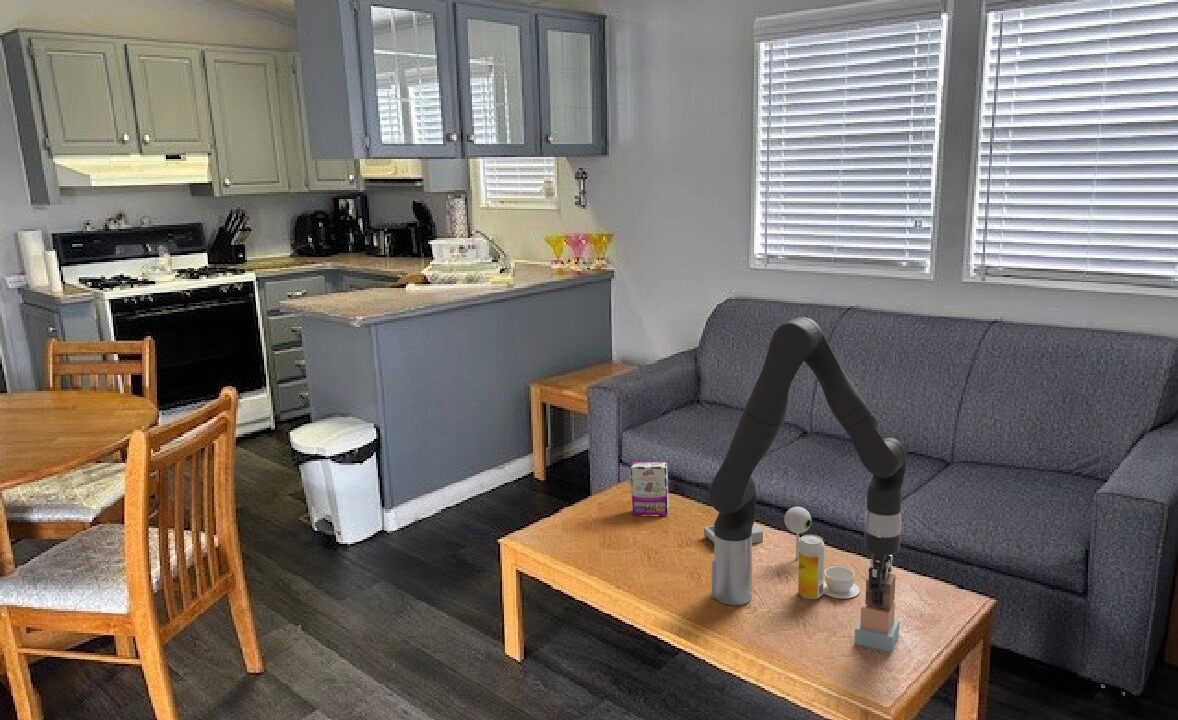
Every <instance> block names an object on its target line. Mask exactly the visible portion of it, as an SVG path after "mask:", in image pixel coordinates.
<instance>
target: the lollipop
mask: <svg viewBox="0 0 1178 720" xmlns="http://www.w3.org/2000/svg"><path fill="white" fill-rule="evenodd" d="M783 519H784V525H785V526H786V528H787V529H788V530H789V531H790V532H792V533H794V534H796V536H795V537H796V544H795V545H796V546H795V549H796V550H795V559H796V560H799V541H800V534H803V533H806V532H807V531H809V529H810V528H811V526H812V516H811V513H810V512H809V511H808V510H807V509H806V508H804V507H803V506H794V507H790V508H789V509H788V510H787V511H786V512H785V515H784V518H783Z"/></svg>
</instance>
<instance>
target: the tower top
mask: <svg viewBox="0 0 1178 720" xmlns="http://www.w3.org/2000/svg"><path fill="white" fill-rule="evenodd" d="M895 607H896V601H895V600H894V601H893V603H892V605H891V608H890V610H889V609H884V608H880V607H875V606H871V605H867V604H865V600H864V601H863V602H862V604H861V606H860V617H861V623H860V627H863V628H867V629H871V630H875V631H879V632H883V633H887V634H888V633H889V631H890V629H891V627H892V625H893V622H894V619H895V613H896V611H895V610H896V609H895Z"/></svg>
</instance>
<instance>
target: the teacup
mask: <svg viewBox="0 0 1178 720" xmlns="http://www.w3.org/2000/svg"><path fill="white" fill-rule="evenodd" d="M855 577H856V575H855V572H854V571H853V570H851V569H850V568H847V567H843V566H831V567H828V568H826V569H824V582H823V595H825V596H828V597H831V598H833V599H834V598H835V599H851V598H854V597H856V596H858V595H859V594H860V590H861V589H860V588H859V585H857V584H855Z"/></svg>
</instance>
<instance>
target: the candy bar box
mask: <svg viewBox="0 0 1178 720" xmlns="http://www.w3.org/2000/svg"><path fill="white" fill-rule="evenodd" d="M630 479H631V480H630V482H631V483H630V484H631V504H632V516H633V515H659V516H658V517H664V516H666V515H667V517H668V516H669V512H670V511H669V510H670V506H669V502H670V501H669V479H668V462H665V461H662V462H656V461H655V462H654V461H653V462H647V461H645V462H643V461H641V462H640V461H635V462H634V461H633V462H632V464H631V466H630ZM668 511H669V512H668Z"/></svg>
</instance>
